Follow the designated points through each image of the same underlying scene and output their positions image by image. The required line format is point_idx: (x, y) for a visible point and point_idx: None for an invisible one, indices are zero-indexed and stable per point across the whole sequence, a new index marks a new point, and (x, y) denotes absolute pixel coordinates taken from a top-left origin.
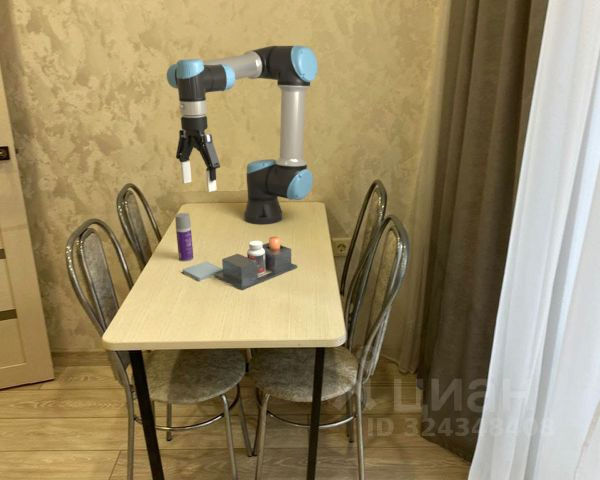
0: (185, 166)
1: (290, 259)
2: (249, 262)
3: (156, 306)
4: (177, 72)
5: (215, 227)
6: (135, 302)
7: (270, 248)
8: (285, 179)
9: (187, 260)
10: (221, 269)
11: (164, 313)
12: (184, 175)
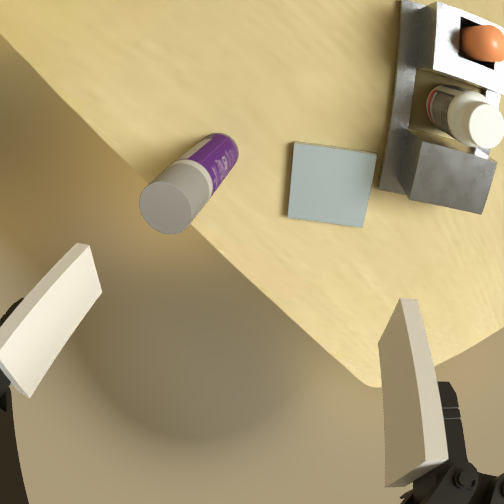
0: (34, 358)
1: None
2: (484, 178)
3: (365, 327)
4: None
5: None
6: (323, 335)
7: (477, 59)
8: None
9: (236, 161)
10: (373, 160)
11: None
12: (74, 322)
